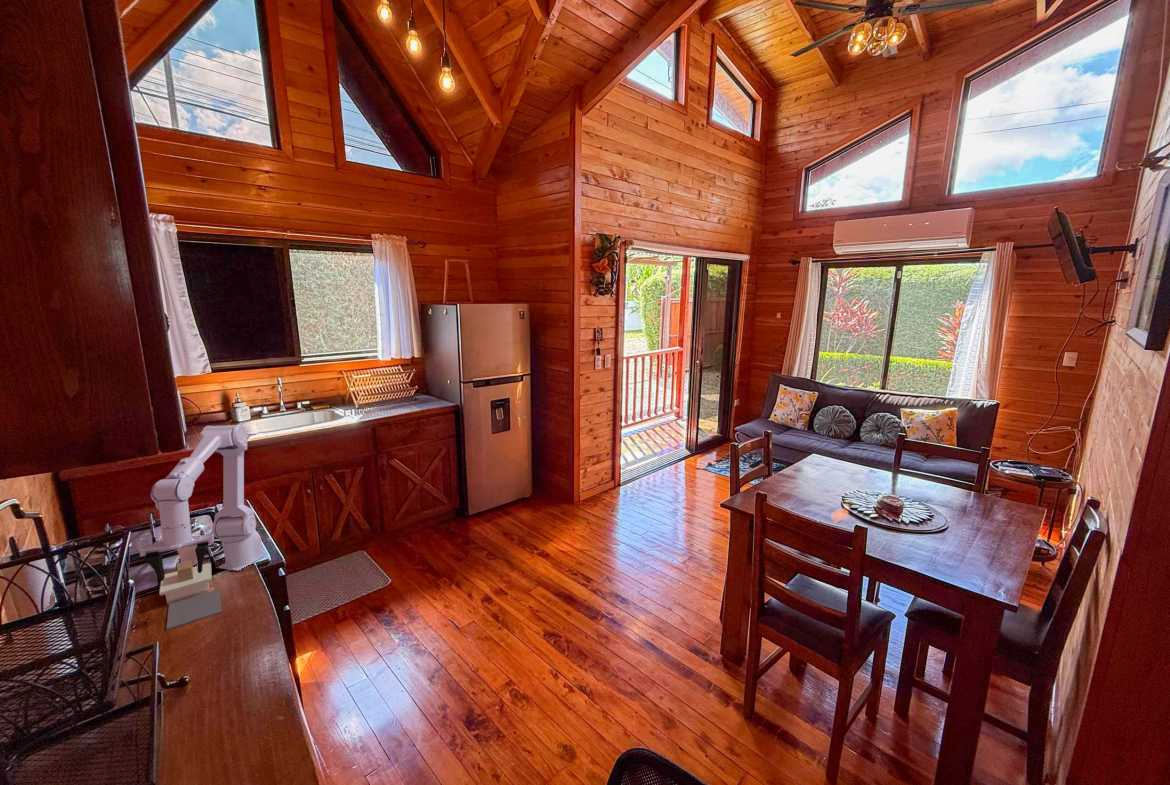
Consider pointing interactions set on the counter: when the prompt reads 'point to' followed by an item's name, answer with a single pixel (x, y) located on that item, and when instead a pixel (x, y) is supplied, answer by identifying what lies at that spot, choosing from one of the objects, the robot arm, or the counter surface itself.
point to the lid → (185, 577)
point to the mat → (194, 609)
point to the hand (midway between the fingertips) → (181, 575)
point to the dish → (187, 593)
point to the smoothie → (188, 553)
